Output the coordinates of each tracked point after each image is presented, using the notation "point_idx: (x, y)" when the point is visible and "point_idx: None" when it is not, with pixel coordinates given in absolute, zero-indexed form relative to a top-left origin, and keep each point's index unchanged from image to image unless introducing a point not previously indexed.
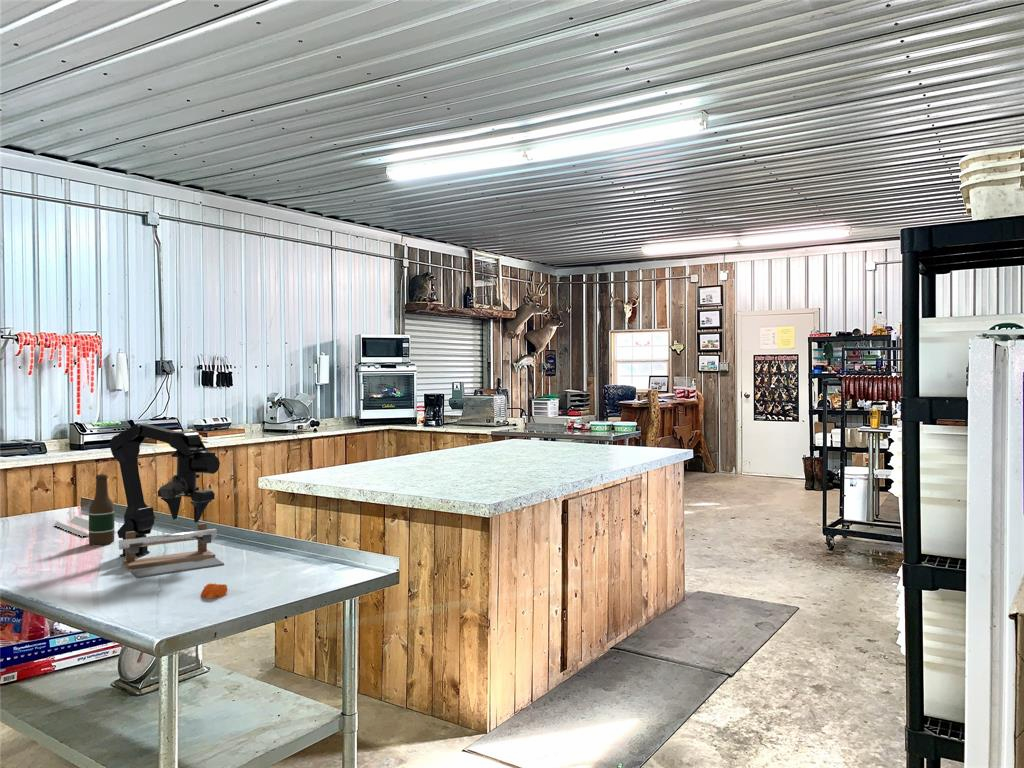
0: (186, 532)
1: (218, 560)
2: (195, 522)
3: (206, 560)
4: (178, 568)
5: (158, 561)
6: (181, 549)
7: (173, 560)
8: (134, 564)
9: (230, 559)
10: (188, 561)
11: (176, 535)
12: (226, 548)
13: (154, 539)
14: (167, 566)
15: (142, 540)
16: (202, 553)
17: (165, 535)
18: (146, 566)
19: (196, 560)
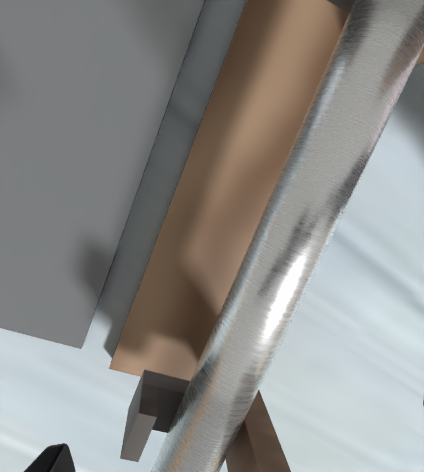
0: (246, 355)
1: (10, 325)
2: (50, 446)
3: (64, 293)
4: (17, 103)
5: (232, 127)
6: (381, 359)
7: (180, 183)
8: (289, 7)
9: (18, 380)
10: (153, 248)
11: (259, 273)
12: (226, 468)
13: (321, 102)
14: (117, 102)
15: (370, 1)
16: (186, 348)
17: (307, 200)
18: (228, 49)
19: (107, 266)
